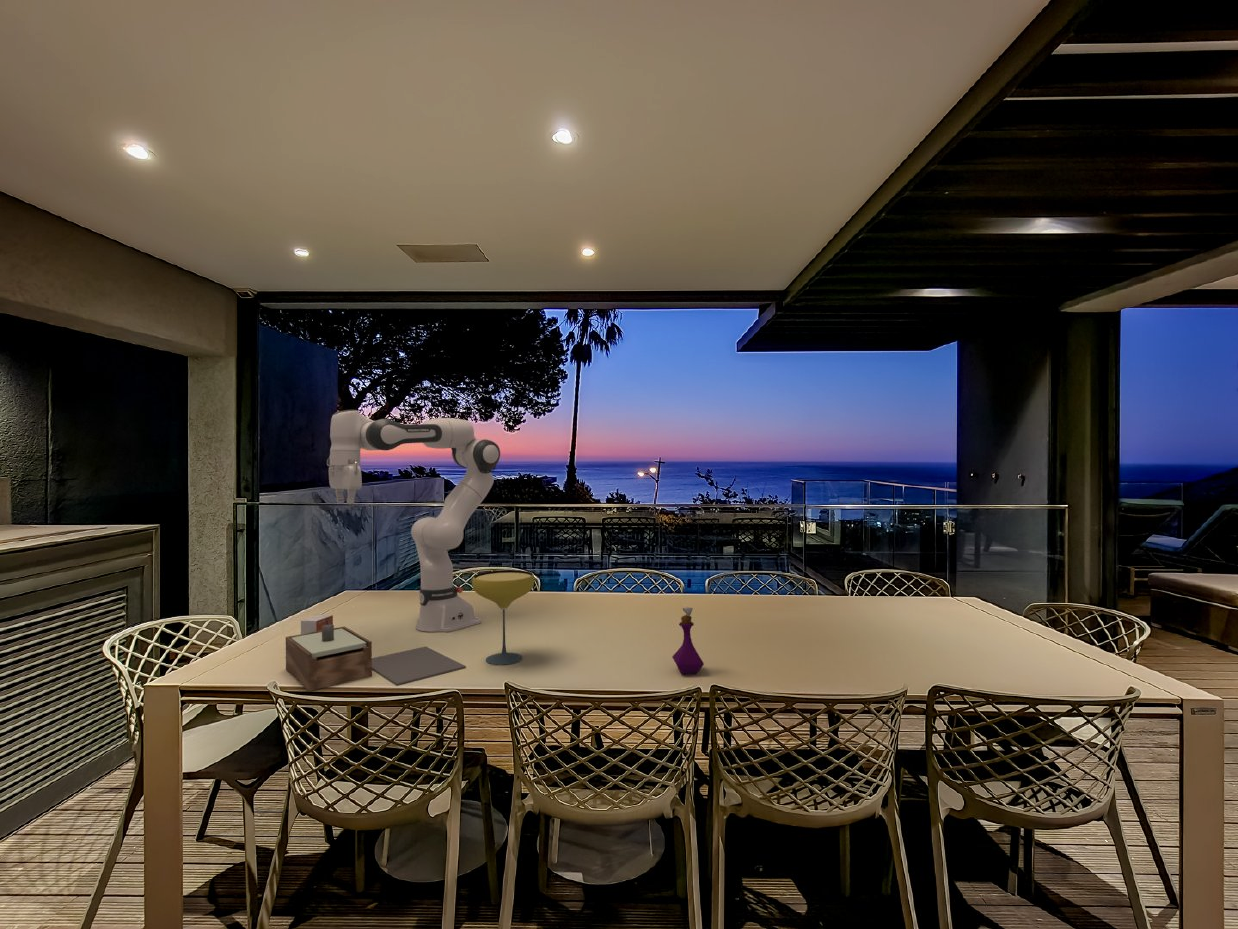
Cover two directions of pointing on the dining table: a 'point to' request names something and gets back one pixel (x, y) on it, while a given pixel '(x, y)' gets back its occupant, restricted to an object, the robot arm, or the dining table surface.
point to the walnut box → (328, 664)
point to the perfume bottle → (687, 648)
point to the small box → (315, 623)
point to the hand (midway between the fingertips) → (345, 503)
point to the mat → (413, 665)
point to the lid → (329, 641)
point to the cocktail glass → (503, 600)
